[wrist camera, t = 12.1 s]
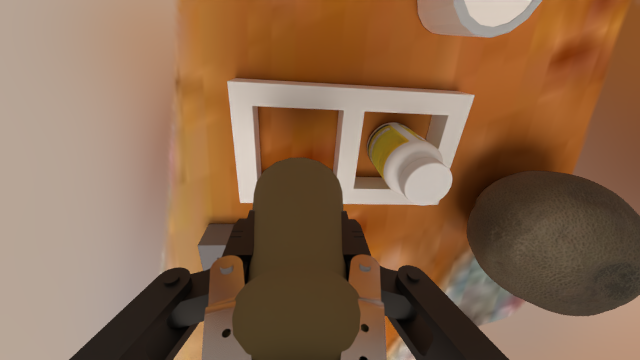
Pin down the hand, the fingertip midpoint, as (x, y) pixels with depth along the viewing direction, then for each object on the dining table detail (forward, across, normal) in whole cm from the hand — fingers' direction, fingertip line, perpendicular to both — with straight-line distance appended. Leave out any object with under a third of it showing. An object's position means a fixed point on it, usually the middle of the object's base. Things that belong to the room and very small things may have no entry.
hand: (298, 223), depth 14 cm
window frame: (+15, -5, 0) cm, 16 cm away
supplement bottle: (+15, -10, 0) cm, 18 cm away
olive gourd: (+3, 0, 0) cm, 3 cm away
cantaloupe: (+15, -26, +7) cm, 31 cm away
